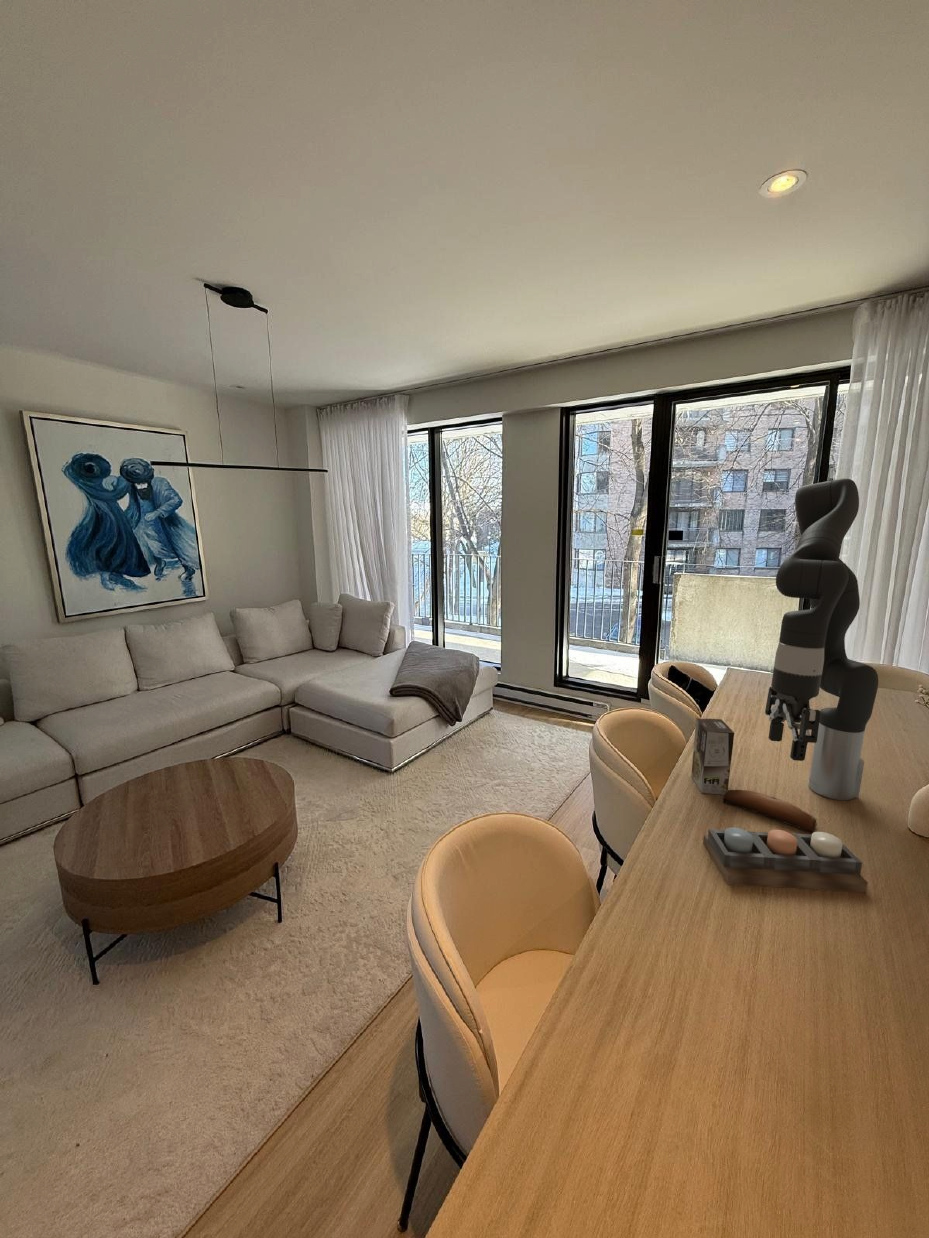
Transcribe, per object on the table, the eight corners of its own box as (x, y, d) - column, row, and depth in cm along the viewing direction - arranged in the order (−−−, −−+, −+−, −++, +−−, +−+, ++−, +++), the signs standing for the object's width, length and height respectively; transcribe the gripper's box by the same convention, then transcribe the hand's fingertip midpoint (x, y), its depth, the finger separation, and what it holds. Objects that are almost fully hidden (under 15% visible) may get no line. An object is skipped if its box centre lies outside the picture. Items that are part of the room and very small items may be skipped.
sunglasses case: (820, 818, 114) (820, 800, 110) (812, 844, 110) (813, 827, 107) (732, 789, 126) (731, 773, 122) (723, 813, 122) (721, 796, 119)
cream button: (830, 846, 99) (832, 832, 99) (846, 862, 94) (848, 848, 94) (804, 844, 100) (806, 831, 99) (818, 860, 95) (821, 846, 94)
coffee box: (728, 795, 123) (735, 733, 120) (700, 793, 124) (706, 731, 121) (716, 776, 132) (722, 718, 129) (690, 775, 133) (695, 716, 130)
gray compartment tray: (825, 849, 103) (828, 829, 102) (866, 891, 91) (869, 869, 91) (702, 843, 105) (704, 823, 104) (727, 883, 93) (729, 862, 93)
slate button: (744, 841, 100) (746, 828, 100) (756, 857, 96) (757, 843, 95) (719, 840, 101) (720, 826, 100) (729, 856, 96) (731, 841, 96)
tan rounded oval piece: (787, 843, 100) (789, 830, 99) (800, 859, 95) (802, 845, 95) (761, 842, 100) (763, 828, 100) (774, 858, 96) (775, 844, 95)
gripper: (842, 680, 87) (828, 768, 90) (799, 659, 101) (787, 735, 104) (796, 678, 88) (782, 765, 91) (759, 657, 101) (748, 733, 105)
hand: (785, 749), depth 97 cm, fingers open, 8 cm apart
